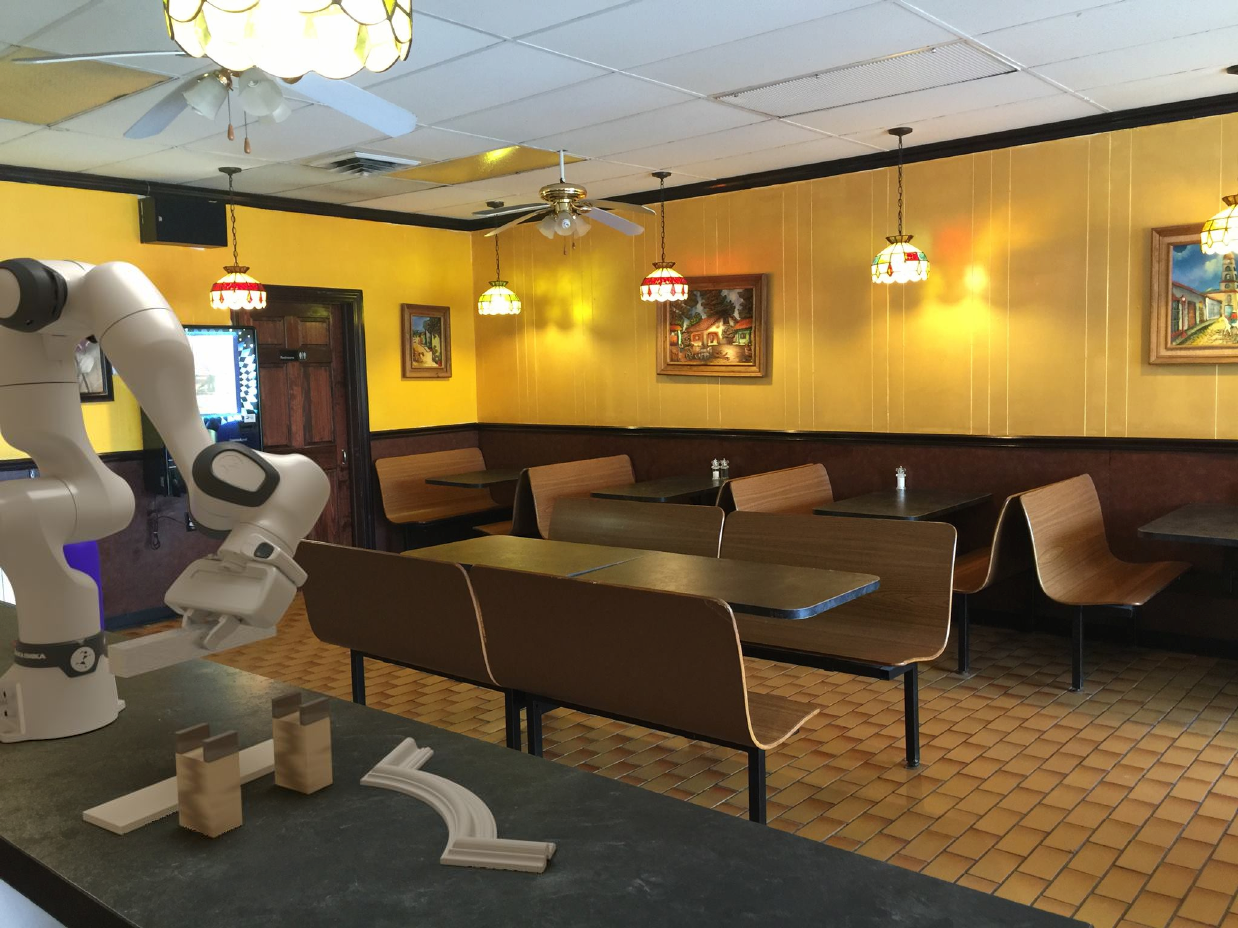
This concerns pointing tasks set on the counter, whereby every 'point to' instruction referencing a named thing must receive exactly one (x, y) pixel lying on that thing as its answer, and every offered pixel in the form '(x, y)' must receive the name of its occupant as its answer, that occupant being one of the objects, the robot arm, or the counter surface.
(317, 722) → the post far
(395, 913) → the counter surface
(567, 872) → the counter surface
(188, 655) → the rail
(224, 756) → the post near
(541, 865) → the molding
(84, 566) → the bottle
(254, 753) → the plank
